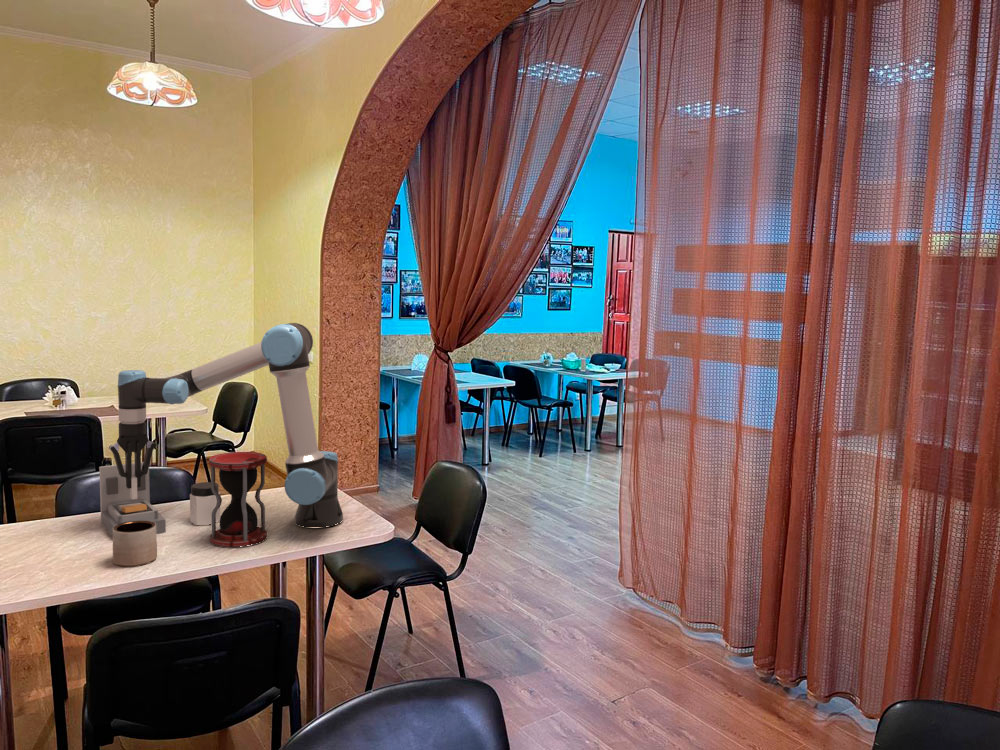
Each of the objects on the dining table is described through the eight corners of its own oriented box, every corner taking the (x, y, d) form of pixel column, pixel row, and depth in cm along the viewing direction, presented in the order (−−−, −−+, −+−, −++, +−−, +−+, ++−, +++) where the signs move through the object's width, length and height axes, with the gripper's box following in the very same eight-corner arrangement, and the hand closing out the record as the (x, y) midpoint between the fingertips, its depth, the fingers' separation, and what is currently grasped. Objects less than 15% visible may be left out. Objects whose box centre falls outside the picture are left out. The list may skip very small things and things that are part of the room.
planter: (107, 559, 207) (106, 525, 206) (148, 550, 215) (147, 517, 214) (121, 570, 200) (120, 535, 199) (163, 561, 207) (162, 527, 206)
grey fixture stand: (165, 532, 231) (164, 474, 229) (115, 540, 222) (113, 480, 220) (148, 515, 247) (147, 461, 245) (101, 523, 238) (99, 466, 236)
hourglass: (217, 551, 216) (216, 465, 213) (204, 535, 229) (203, 454, 226) (274, 542, 225) (273, 459, 222) (258, 527, 238) (257, 449, 235)
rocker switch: (147, 510, 232) (147, 504, 232) (124, 513, 228) (124, 507, 228) (139, 508, 240) (139, 502, 240) (117, 511, 236) (117, 505, 236)
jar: (186, 521, 242) (185, 484, 241) (211, 516, 248) (210, 480, 247) (199, 528, 236) (198, 490, 235) (224, 522, 242) (223, 485, 241)
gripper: (152, 418, 235) (153, 492, 238) (105, 421, 227) (107, 498, 230) (158, 422, 230) (159, 498, 232) (111, 425, 222) (112, 504, 224)
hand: (133, 498), depth 231 cm, fingers closed
